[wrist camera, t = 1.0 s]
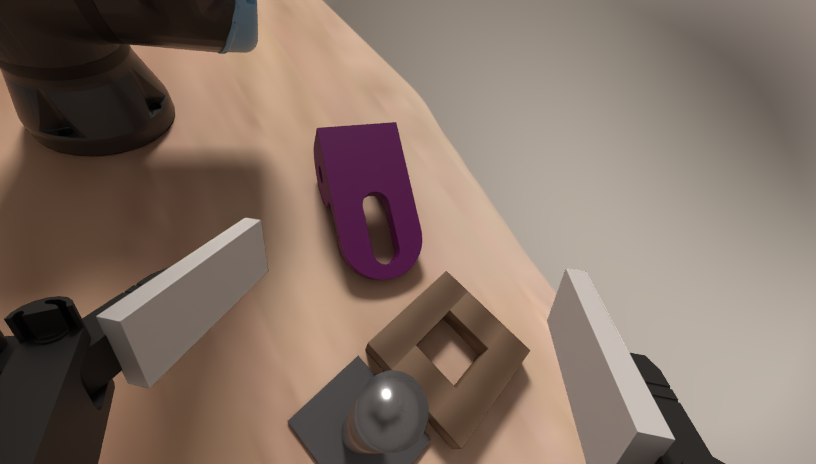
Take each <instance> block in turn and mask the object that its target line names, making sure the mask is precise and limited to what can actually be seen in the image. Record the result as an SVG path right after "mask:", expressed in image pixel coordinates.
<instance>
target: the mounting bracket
mask: <svg viewBox="0 0 816 464" xmlns="http://www.w3.org/2000/svg"><path fill="white" fill-rule="evenodd" d="M314 162H315V169H316V176H317V181H318V186H319V189H320V192H321V196H322V199H323V202H324V204H325V206H330V205H331V210H332V214H333V219H334V223H335V228H336V233H337V237H338V242H339V247H340V251H341V253H342V256H343V258H344V260H345V261H346V263H347V264H348V265H349V267H350V268H351V269H353V270H354V271H355V272H356V273H358V274H360V275H361V276H364V277H366V278H370V279H377V280H379V279H392V278H395V277H398V276H400V275H402V274H404V273H405V272H407V271H408V270H409V269H410V268H411V267H412V266H413V265H414V263H415V262H416V260H417V259H418V257H419V254H420V251H421V247H422V232H421V227H420V223H419V218H418V214H417V210H416V206H415V201H414V197H413V193H412V188H411V184H410V180H409V175H408V171H407V167H406V163H405V158H404V154H403V150H402V145H401V141H400V137H399V133H398V128H397V124H396V122H393V123H380V124H366V125H352V126H338V127H324V128H317V131H316V136H315V142H314ZM367 196H375V197H377V198H379V199H380V200H381V201H382V202H383V204H384V206H385V211H386V215H387V220H388V224H389V228H390V233H391V237H392V242H393V246H394V251H395V254H394V258H393V259H392V261H391V262H390V263H389V264H387V265H384V264H381V263H379V262H378V261H377V260H376V259H375V257H374V255H373V251H372V247H371V242H370V238H369V233H368V229H367V224H366V220H365V215H364V211H363V205H362V204H363V199H364V198H365V197H367Z"/></svg>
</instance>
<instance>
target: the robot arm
mask: <svg viewBox="0 0 816 464" xmlns="http://www.w3.org/2000/svg"><path fill="white" fill-rule="evenodd" d="M257 42H258V15H257V0H0V69H1V71H2V74H3V76H4V79H5V82H6V85H7V87H8V90H9V93H10V96H11V99H12V101H13V104H14V107H15V110H16V112H17V115H18V117H19V119H20V121H21V122H22V124H23V125H24V126H25V127H26V128H27V129H28V130H29V132H30V133H31V134H32V135H33V136H34V137H35V138H36V139H37V140H38V141H39V142H40V143H42V144H43V145H45V146H47V147H49V148H51V149H54V150H56V151H60V152H63V153H68V154H74V155H86V156H96V155H108V154H115V153H120V152H124V151H128V150H131V149H135V148H137V147H140V146H142V145H145V144H147V143H149V142H151V141H152V140H154V139H156V138H157V137H159V136H160V135H161V134H162V133H164V132H165V131H166V130H167V129H168V127H169V126H170V125H171V123H172V121H173V119H174V115H175V109H174V105H173V102H172V100H171V98H170V95H169V93H168V91H167V89H166V88H165V86H164V85H163V84H162V82H161V81H160V80H159V79H158V78H157V77H156V76H155V75H154V73H153V72H152V71H151V70H150V69H149V68H148V67H147V66H146V65H145V63H144V62H143V61H142V60H141V59H140V58H139V57H138V56H137V54H136V53H135V52H134V51H133V50H132V49H131V47H130V45H142V46H153V47H163V48H174V49H185V50H196V51H207V52H217V53H219V54H225V53H227V52H240V53H246V52H250V51H252V50H253V49H254V48H255V47H256V45H257ZM267 272H268V265H267V259H266V252H265V245H264V238H263V232H262V225H261V220H257V219H251V218H244V219H242V220H241V221H239V222H238V223H236V224H235V225H233V226H232V227H230V228H229V229H227V230H226V231H224V232H223V233H221V234H220V235H218V236H216V237H215V238H213V239H212V240H210V241H209V242H207V243H206V244H204V245H203V246H201V247H200V248H198V249H197V250H195V251H194V252H192V253H191V254H189V255H188V256H186V257H185V258H183V259H182V260H180V261H179V262H177V263H176V264H174V265H173V266H171V267H170V268H166V269H163V270H161V271H158V272H156V273H153V274H151V275H149V276H148V277H146V278H144V279H143V280H141V281H140V282H138V283H137V285H136V286H132V287H131V288H129V289H127V290H126V291H125V293H121V294H120V295H118V296H117V297H115V298H113V299H112V300H110V301H109V302H107V303H106V304H104V305H103V306H101V307H100V308H98V309H96V310H95V311H93V312H92V313H90V314H89V315H87V316H86V317H84V318H81V316H80V314H79V312H78V310H77V308H76V306H75V304H74V302H73V300H71V299H70V298H68V297H61V296H57V297H49V298H44V299H40V300H37V301H33V302H31V303H29V304H26V305H24V306H21V307H20V308H18V309H16V310H15V311H13V312H11V313H10V314H9V315H8V316H7V317H6V318H5V319H4V320H5V322H6V323H7V325H8V326H9V328H10V329H11V331H12V332H13V334H14V335H15V336H4V335H3V333H2V332H1V331H0V464H98V461H99V457H100V452H101V448H102V443H103V439H104V434H105V430H106V425H107V421H108V416H109V412H110V407H111V403H112V398H113V393H114V389H115V385H114V381H113V379H112V378H114V377H115V376H116V375H117V374H118V373H119V372H120V371H122V372H123V374H124V376H125V378H126V380H127V382H128V384H133V385H137V386H141V387H145V388H149V389H150V388H151V387H152V386H153V385H154V384H155V383H156V382H157V381H158V380H159V379H160V378H161V377H162V376H163V375H164V374H165V373H166V372H167V371H168V370H169V369H170V368H171V367H172V366H173V365H174V364H175V363H176V362H177V361H178V360H179V359H180V358H181V357H182V356H183V355H184V354H185V353H186V352H187V351H188V350H189V349H190V348H191V347H192V346H193V345H194V344H195V343H196V342H197V341H198V340H199V339H200V338H201V337H202V336H203V335H204V334H205V333H206V332H207V331H208V330H209V329H210V328H211V327H212V326H213V325H214V324H215V323H216V322H217V321H218V320H219V319H220V318H221V317H222V316H223V315H224V314H225V313H226V312H227V311H228V310H229V309H230V308H231V307H232V306H233V305H234V304H236V303H237V302H238V301H239V300H240V299H241V298H242V297H243V296H244V295H245V294H246V293H247V292H248V291H249V290H250V289H251V288H252V287H253V286H254V285H255V284H256V283H257V282H258V281H259V280H260V279H261V278H262V277H263V276H264V275H265V274H266V273H267ZM547 322H548V326H549V330H550V333H551V337H552V340H553V344H554V348H555V351H556V355H557V359H558V362H559V366H560V370H561V373H562V377H563V380H564V384H565V388H566V391H567V395H568V399H569V402H570V406H571V409H572V413H573V417H574V420H575V424H576V428H577V431H578V435H579V439H580V442H581V446H582V449H583V453H584V457H585V460H586V464H725V463H723V462H721V461H720V460H718V459H716V458H714V457H713V456H712V455H711V453H710V452H709V450H708V448H707V447H706V445H705V443H704V442H703V440H702V438H701V437H700V435H699V433H698V432H697V430H696V428H695V427H694V425H693V423H692V422H691V420H690V419H689V417H688V416H687V413H686V412H685V411H684V409H683V407H682V405H681V404H680V403H678V399H677V397H676V395H675V394H674V392H673V390H672V389H670V385H669V384H668V382H667V380H666V379H665V377H664V375H663V374H662V372H661V370H660V369H659V368H658V367H656V366H655V365H654V364H653V363H652V362H651V361H650V360H649V359H648V358H647V357H646V356H645V355H639V354H634V353H629V351H628V350H627V348H626V346H625V344H624V342H623V340H622V338H621V336H620V334H619V332H618V331H617V329H616V327H615V325H614V323H613V321H612V319H611V317H610V315H609V314H608V312H607V310H606V308H605V306H604V304H603V302H602V300H601V299H600V297H599V295H598V293H597V291H596V289H595V287H594V285H593V283H592V281H591V280H590V278H589V276H588V274H587V272H586V271H581V270H574V269H568V268H566V269H565V272H564V275H563V278H562V280H561V283H560V286H559V289H558V292H557V294H556V297H555V300H554V303H553V306H552V308H551V311H550V314H549V317H548V319H547Z"/></svg>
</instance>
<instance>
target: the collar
mask: <svg viewBox="0 0 816 464" xmlns="http://www.w3.org/2000/svg"><path fill="white" fill-rule="evenodd" d="M442 318H443V319H444V320H445V321H446V322H447V323H448V324H449V325H450V326H451V327H452V328H453V329H454V330H455V331H456V332H457V333H458V334H459V335H460V336H461V337H462V338H463V339H464V340H465V341H466V342H467V343H468V344H469V345H470V346H471V347H472V348H473V349H474V350H475V351H476V352H477V353H478V354H479V356H478V357H477V358H476V359H475V360H474V362H473V363H472V364H471V365H470V367H469V368H468V369H467V370H466V372H465V373H464V374H463V375H462V377H461V378H460V379H459V380H458V381H457V383H456V384H455V385H454V386H453V384H452V383H451V382H450V381H449V380H448V379H447V378H446V377H445V376H444V375H443V374H442V373H441V372H440V371H439V370H438V368H437V367H436V366H435V365H434V364H433V363H432V362H431V361H430V360H429V359H428V358H427V357H426V356H425V355H424V354H423V352H422V351H421V350H420V349H419V348H418V347H417V346H416V345H417V344H418V343H419V342H420V341H421V340H422V339H423V338H424V337H425V336H426V335H427V334H428V333H429V332H430V331H431V330H432V329H433V328H434V327H435V326H436V325H437V324H438V323H439V322H440V321H441V320H442ZM365 350H366V351H367V352H368V353H369V354H370V356H371V357H372V358H373V359H374V360H375V361H376V362H377V364H378V365H379V366H380V367H381V368H382V369H383V370H384V371H390V370H395V371H401V372H404V373H407V374H408V375H410V376H412V377H413V378H414V379H415V380H416V381H417V382H418V383H419V384H420V385H421V387H422V388H423V390H424V392H425V395H426V398H427V401H428V408H429V415H428V422H429V423H430V424H431V425H432V426H433V427H434V429H435V430H436V431H437V432H438V433H439V434H440V435H441V437H442V438H443V439H444V440H445V441H446V442H447V443H448V444H449V446H450V447H451V448H452V449H461V448H462V447H463V446H464V444H465V443H466V441H467V440H468V439H469V437H470V436H471V434H472V433H473V431H474V430H475V429H476V427H477V426H478V424H479V423H480V422H481V420H482V419H483V417H484V416H485V414H486V413H487V412H488V410H489V409H490V407H491V406H492V404H493V403H494V402H495V400H496V399H497V397H498V396H499V394H500V393H501V392H502V390H503V389H504V387H505V386H506V384H507V383H508V382H509V380H510V379H511V377H512V376H513V375H514V373H515V372H516V370H517V369H518V367H519V366H520V365H521V363H522V362H523V360H524V359H525V357H526V356H527V355H528V353H529V352H530V350H529V349H528V348H527V347H526V346H525V345H524V344H523V343H522V342H521V341H520V340H519V339H518V338H517V337H516V336H515V335H514V334H512V333H511V332H510V331H509V330H508V329H507V328H506V327H505V326H504V325H503V324H502V323H501V322H500V321H499V320H498V319H497V318H496V317H495V316H494V315H492V314H491V313H490V312H489V311H488V310H487V309H486V308H485V307H484V306H483V305H482V304H481V303H480V302H479V301H478V300H477V299H476V298H475V297H473V296H472V295H471V294H470V293H469V292H468V291H467V290H466V289H465V288H464V287H463V286H462V285H461V284H460V283H459V282H458V281H457V280H456V279H454V278H453V277H452V276H451V275H450V274H449V273H448V272H447V271H446V272H445V273H444V274H442V275H441V276H440V277H439V278H438V279H437V280H436V281H435V282H434V283H433V284H432V285H431V286H429V287H428V288H427V289H426V290H425V291H424V292H423V293H422V294H421V295H420V296H419V297H417V298H416V299H415V300H414V301H413V302H412V303H411V304H410V305H409V306H408V307H407V308H405V309H404V310H403V311H402V312H401V313H400V314H399V315H398V316H397V317H396V318H395V319H394V320H392V321H391V322H390V323H389V324H388V325H387V326H386V327H385V328H384V329H383V330H382V331H380V332H379V333H378V334H377V335H376V336H375V337H374V338H373V339H372V340H371V341H370V342H368V344H367V347H366V349H365Z"/></svg>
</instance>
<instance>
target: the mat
mask: <svg viewBox="0 0 816 464" xmlns="http://www.w3.org/2000/svg"><path fill="white" fill-rule="evenodd" d="M374 376H375V375H374V373H373V372H372V371H371V370H370V369H369V368H368V366H367V365H366V364H365V363H364V362H363V361H362V360H361V358H360V357H359V356H357V357H356V358H355V359H354V360H353V361H352V362H351V363H350V364H349V365H348V366H347V367H345V368H344V369H343V370H342V371H341V372H340V373H339V374H338V375H337V376H336V377H335V378H334V379H333V380H331V381H330V382H329V383H328V384H327V385H326V386H325V387H324V388H323V389H322V390H321V391H320V392H319V393H317V394H316V395H315V396H314V397H313V398H312V399H311V400H310V401H309V402H308V403H307V404H306V405H304V406H303V407H302V408H301V409H300V410H299V411H298V412H297V413H296V414H295V415H294V416H293V417H292V418H290V419H289V420H288V423H289V424H290V425H291V427H292V428H293V429H294V431H295V432H296V433H297V435H298V436H299V437H300V439H301V440H302V442H303V443H304V444H305V446H306V447H307V448H308V450H309V451H310V452H311V454H312V455H313V456H314V458H315V459H316V461H317V462H318V463H319V464H412V463H413V462H414V461H415V460H416V458H417V457H418V456H419V454H420V453H421V452H422V450H423V449H424V448H425V447H426V445H427V444H428V443H429V441H430V440H431V439H430V438H429V437H428V436H427V435H426V434H425V432H424V433H423V434H422V436H421V437H420V439H419V440H418V441H417V442H416V443H415V444H414V445H413V446H412V447H410V448H409V449H407V450H404V451H402V452H398V453H372V454H356V453H353V452H351V451H349V450H348V449H347V448H346V446H345V445H344V443H343V440H342V435H341V431H342V425H343V423H344V421H345V419H346V417H347V415H348V414H349V412H350V410H351V408H352V407H353V405H354V403H355V401H356V400H357V398H358V396H359V394H360V393H361V391H362V389H363V388H364V386H365V385H366V383H367V382H368V381H369V380H370V379H371V378H373V377H374Z"/></svg>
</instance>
